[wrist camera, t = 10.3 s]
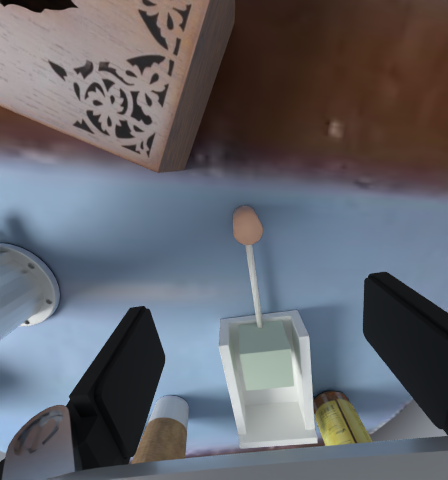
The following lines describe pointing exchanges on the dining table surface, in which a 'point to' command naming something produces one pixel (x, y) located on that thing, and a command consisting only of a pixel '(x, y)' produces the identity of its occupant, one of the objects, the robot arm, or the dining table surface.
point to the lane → (274, 399)
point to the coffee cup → (164, 432)
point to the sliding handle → (260, 322)
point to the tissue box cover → (115, 71)
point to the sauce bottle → (338, 420)
